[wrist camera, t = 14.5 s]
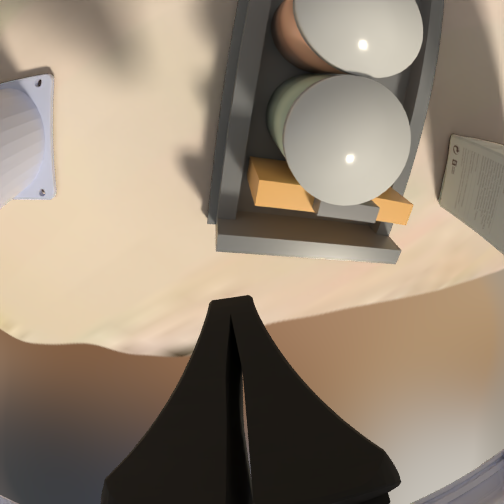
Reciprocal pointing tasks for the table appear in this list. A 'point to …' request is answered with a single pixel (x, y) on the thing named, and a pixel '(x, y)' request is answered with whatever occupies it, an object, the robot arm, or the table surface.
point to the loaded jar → (339, 135)
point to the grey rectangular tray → (262, 145)
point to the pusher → (297, 198)
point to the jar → (348, 35)
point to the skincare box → (476, 187)
